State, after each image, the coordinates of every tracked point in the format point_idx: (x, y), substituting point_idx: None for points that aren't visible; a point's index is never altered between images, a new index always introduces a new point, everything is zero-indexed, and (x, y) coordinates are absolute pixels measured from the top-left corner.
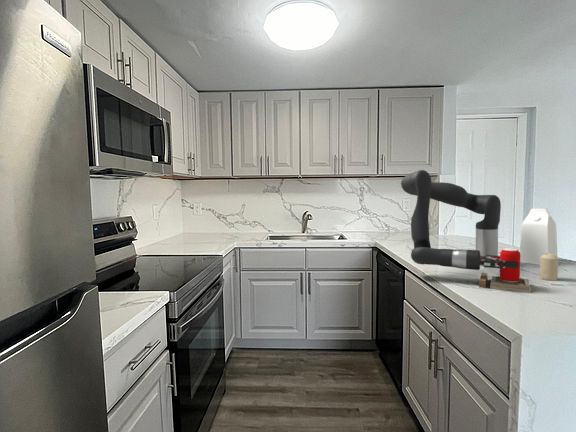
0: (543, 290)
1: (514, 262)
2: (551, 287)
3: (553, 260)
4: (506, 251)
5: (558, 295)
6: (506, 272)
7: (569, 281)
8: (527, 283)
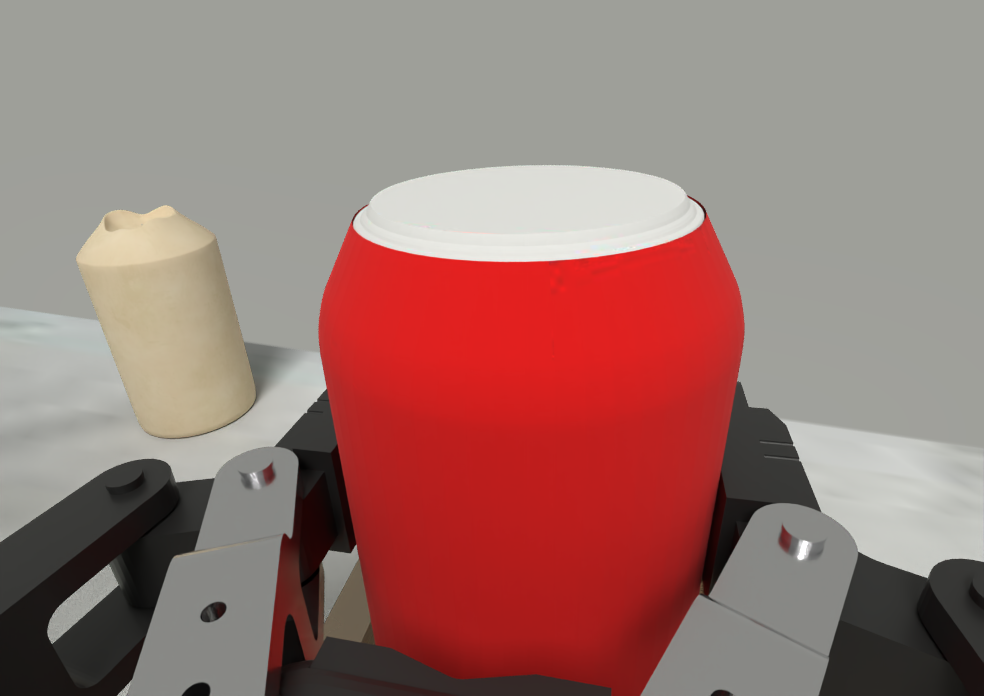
0: None
1: (746, 414)
2: None
3: (218, 253)
4: (709, 264)
5: None
6: None
7: (287, 353)
8: None
